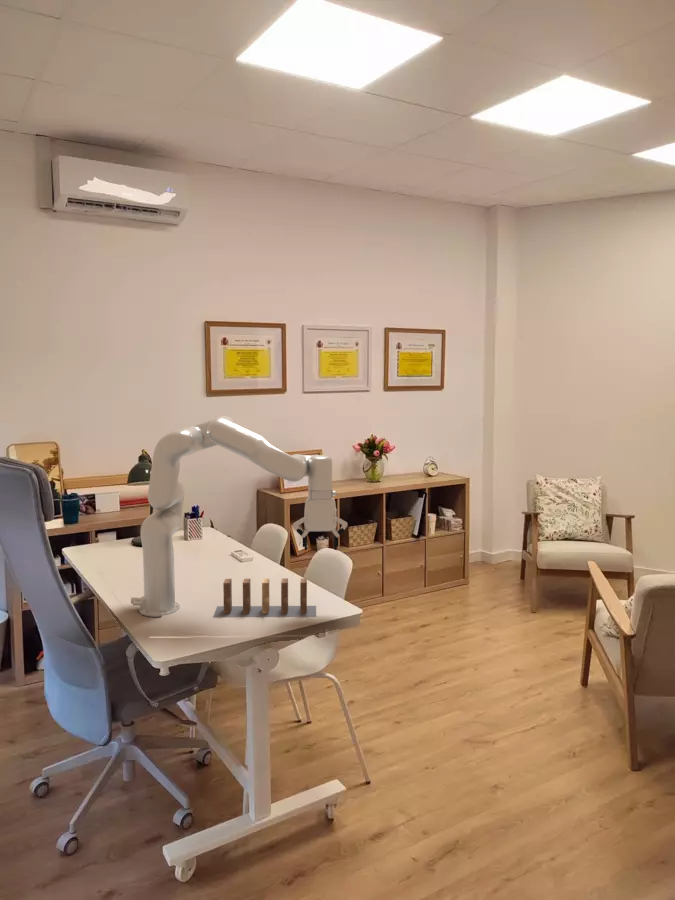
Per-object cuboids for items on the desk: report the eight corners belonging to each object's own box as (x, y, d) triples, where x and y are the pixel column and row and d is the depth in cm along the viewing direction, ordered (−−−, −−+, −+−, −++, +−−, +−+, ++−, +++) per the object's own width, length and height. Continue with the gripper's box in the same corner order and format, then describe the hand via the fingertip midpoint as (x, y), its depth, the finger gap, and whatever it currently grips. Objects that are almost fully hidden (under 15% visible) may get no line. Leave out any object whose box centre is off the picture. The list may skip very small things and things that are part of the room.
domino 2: (242, 613, 217) (242, 583, 215) (244, 608, 221) (244, 578, 220) (249, 613, 217) (249, 582, 216) (250, 608, 221) (250, 578, 220)
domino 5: (300, 613, 217) (300, 582, 216) (300, 608, 222) (300, 578, 221) (306, 613, 217) (306, 582, 216) (306, 608, 222) (306, 578, 221)
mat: (212, 618, 214) (212, 617, 214) (217, 607, 224) (217, 606, 224) (316, 617, 215) (316, 616, 215) (316, 606, 225) (316, 605, 225)
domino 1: (223, 614, 216) (223, 583, 215) (225, 609, 221) (225, 578, 220) (230, 614, 216) (229, 583, 215) (231, 609, 221) (231, 578, 220)
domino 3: (262, 613, 217) (262, 582, 216) (263, 608, 221) (263, 578, 220) (268, 613, 217) (268, 582, 216) (269, 608, 221) (269, 578, 220)
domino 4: (281, 613, 217) (281, 582, 216) (281, 608, 222) (281, 578, 220) (287, 613, 217) (287, 582, 216) (288, 608, 222) (288, 578, 221)
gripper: (347, 492, 220) (347, 545, 222) (292, 493, 219) (293, 546, 221) (348, 496, 212) (348, 551, 214) (292, 497, 212) (292, 552, 213)
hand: (320, 548), depth 218 cm, fingers open, 8 cm apart
